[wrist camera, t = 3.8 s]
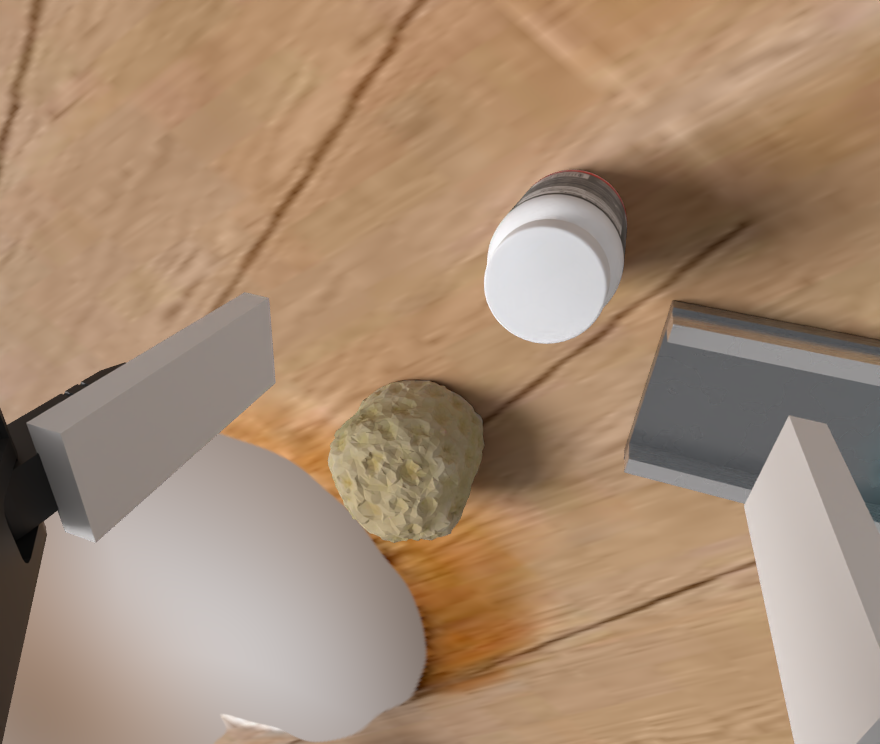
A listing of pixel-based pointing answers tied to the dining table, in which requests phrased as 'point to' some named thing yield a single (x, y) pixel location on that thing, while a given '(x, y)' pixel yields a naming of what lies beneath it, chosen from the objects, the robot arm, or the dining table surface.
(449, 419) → the decorative object
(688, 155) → the dining table surface
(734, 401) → the grey tray holder
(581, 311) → the pill bottle
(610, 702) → the dining table surface
